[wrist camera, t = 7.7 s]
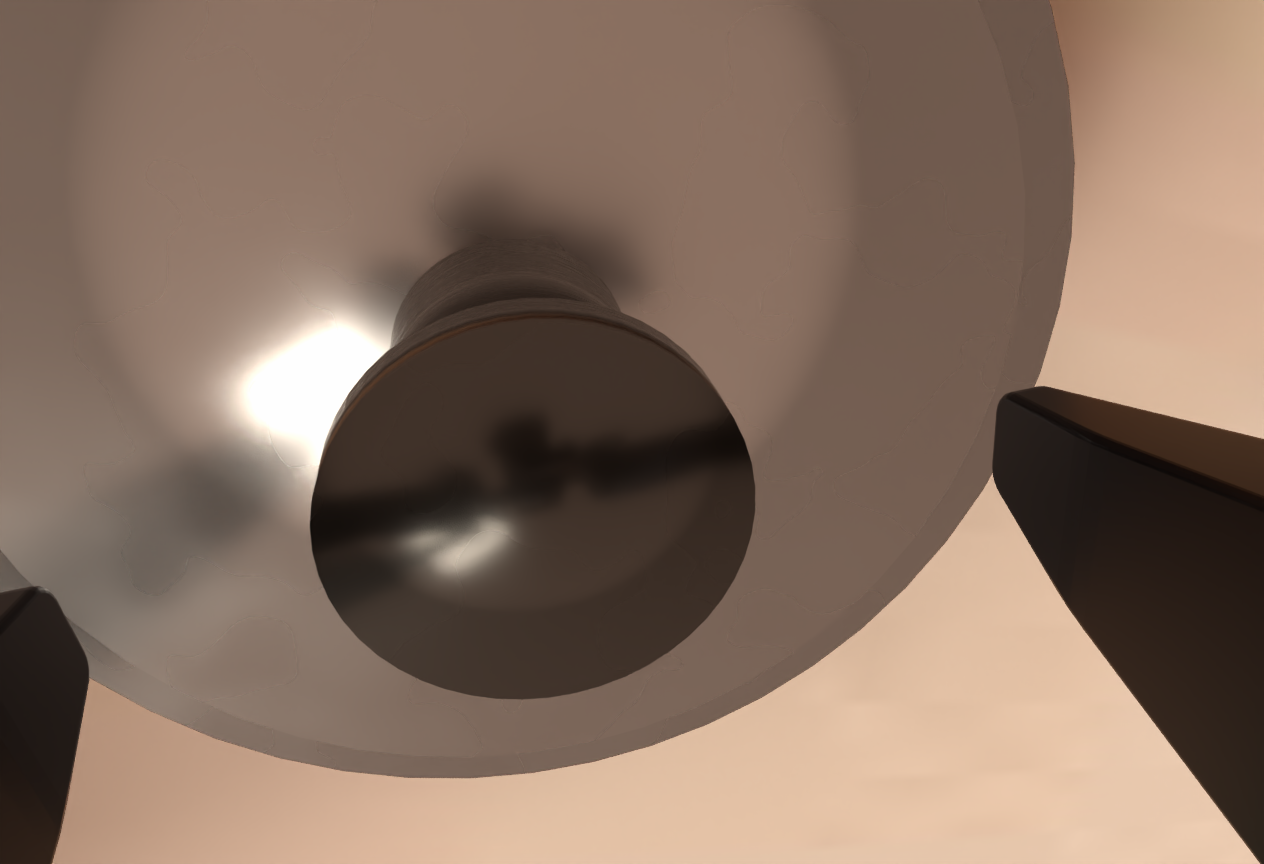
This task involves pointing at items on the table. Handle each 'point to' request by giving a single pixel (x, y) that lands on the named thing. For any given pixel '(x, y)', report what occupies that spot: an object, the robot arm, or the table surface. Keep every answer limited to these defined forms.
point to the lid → (506, 349)
